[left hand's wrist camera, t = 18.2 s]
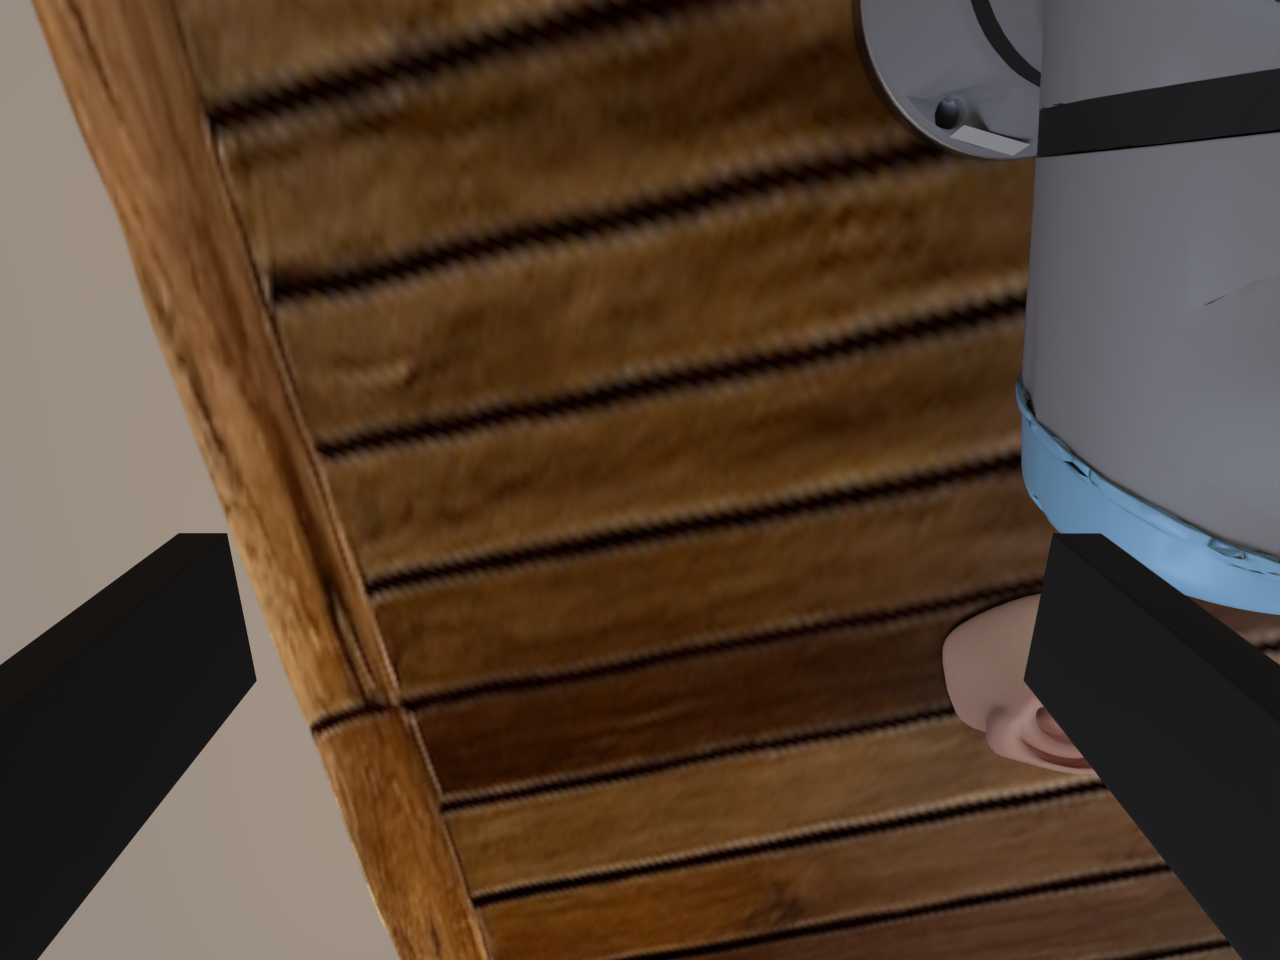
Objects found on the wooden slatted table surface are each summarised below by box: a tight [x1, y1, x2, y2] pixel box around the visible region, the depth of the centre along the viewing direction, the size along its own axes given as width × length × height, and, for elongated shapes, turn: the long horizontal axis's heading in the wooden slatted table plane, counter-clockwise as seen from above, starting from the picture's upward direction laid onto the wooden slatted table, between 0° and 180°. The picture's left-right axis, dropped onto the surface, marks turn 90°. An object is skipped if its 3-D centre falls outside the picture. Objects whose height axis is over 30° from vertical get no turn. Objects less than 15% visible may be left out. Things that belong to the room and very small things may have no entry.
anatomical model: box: [943, 594, 1096, 774], centre depth 47 cm, size 13×4×12 cm
